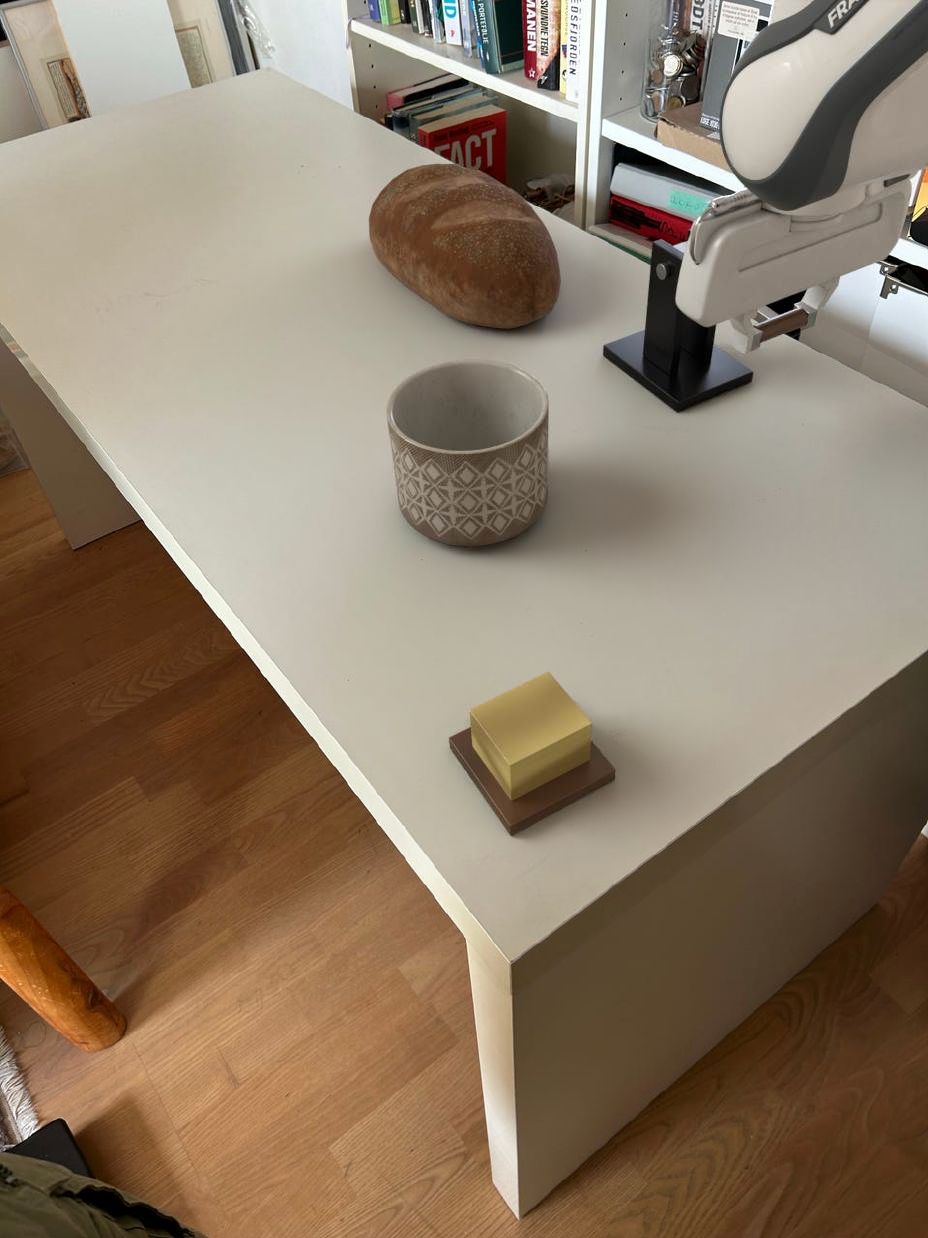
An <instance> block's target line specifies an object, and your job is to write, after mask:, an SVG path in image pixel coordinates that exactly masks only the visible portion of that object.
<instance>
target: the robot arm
mask: <svg viewBox="0 0 928 1238" xmlns="http://www.w3.org/2000/svg"><path fill="white" fill-rule="evenodd" d="M746 46H747V47H746V48H745V49H744V50H743V52H742V54H741V55H740V57H739V59H738V61H737V62H736V64H735V66H734V68H733V70H732V73H731V75H730V77H729V79H728V82H727V84H726V87H725V90H724V92H723V96H722V99H721V104H720V109H719V118H718V133H719V142H720V147H721V150H722V155H723V157H724V159H725V161H726V164H727V165H728V168H729V169H730V170H731V172H732V174H734V176H735V178H736V179H737V180H738V181H739V182H740V183H741V184H742V185H743V188H742V189H740V190H738V191H736V192H735V193H732V194H730V195H722V196H719V197H716V198H715V199H712V200H711V201H710V202H709V203H708V206H707V208H706V209H704V210H703V211H702V212H701V213H700V214H699V216H698V217H697V218H696V219H694V221H693V222H692V224H691V228H690V229H691V234H690V237H689V239H688V242H687V245H686V249H685V253H684V257H683V261H682V265H681V269H680V274H679V279H678V285H677V291H676V304H677V306H678V308H679V309H680V310H681V311H682V312H683V313H684V314H685V315H686V316H688V317H689V318H690V319H692V320H693V321H695V322H697V323H698V324H700V325H702V326H704V327H710V326H713V325H716V326H717V325H718V324H720V323H724V322H726V321H728V320H729V322H730V324H731V326H732V328H733V335H732V340H731V342H732V347H733V349H734V350H736V351H737V352H739V354H742V355H746V354H749V353H751V352H753V351H756V350H758V349H759V348H760V347H761V343H760V340H761V338H762V333H763V331H761V330H759V329H758V328H754V326H753V325H754V324H753V323H752V320H754V319H753V318H755V317H756V316H757V311H758V308H760V307H762V306H767V305H770V304H773V303H775V302H777V301H780V300H783V299H785V298H788V297H791V296H793V295H796V294H799V293H801V292H804V291H805V293H804V296H803V297H802V299H801V300H800V301H799V302H797V303H794V304H793V309H792V310H794V309H797V308H803V309H804V310H805V311H806V312H807V315H808V321H807V323H806V325H805V326H802V327H800V328H798V329H799V330H800V331H805V330H808V329H810V328H813V327H815V326H818V325H819V323H820V319H821V315H822V310H823V308H824V307H826V304H827V303H828V301H829V300H830V299H831V297H832V296H833V294H834V293H835V292H836V289H837V288H838V287H839V284H840V279H841V277H842V276H845V275H847V274H851V273H853V272H856V271H858V270H861V269H863V268H866V267H868V266H871V265H874V264H877V263H879V262H882V261H884V260H886V259H887V258H888V256H889V255H890V254H891V253H892V251H893V250H894V249H895V247H896V246H897V244H898V242H899V241H900V237H901V234H902V231H903V228H904V225H905V221H906V218H907V214H908V210H909V206H910V202H911V197H912V191H913V185H912V182H911V179H913V178H915V177H916V175H918V172H919V171H923V170H927V169H928V0H772V4H771V9H770V13H769V19H768V24H767V25H766V26H765V27H763V28H762V29H760V31H758V32H757V33H756V34H755V35H754V37H753V38H751V41H750V42H749V43H748V45H746Z"/></svg>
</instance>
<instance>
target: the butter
mask: <svg viewBox="0 0 928 1238" xmlns="http://www.w3.org/2000/svg"><path fill="white" fill-rule="evenodd" d="M469 721H470V722H469V723H470V727H467V728H465V729H464V730H463V729H462V730H461V731H459V732H457V733H455V734H453V735H451V736H449V737H448V744H449V749H450V751H451V752H452V754H453V755H454V756H455V758H456V759H457V761H458V763H460V765H461V766H462V768H463V769H464V771H465V773H466V774H467V776H469V778H470V779H471V781H472V782H473V784H474V786H476V788H477V790H478V791H479V792H480V794H481V796H482V797H483V798H484V800H485V801H486V803H487V804H488V806H489V807H490V808H491V810H492V811H493V813H494V814H495V816H496V818H498V820H499V822H500V823H501V824H502V826H503V827H504V828H505V830H506V832H507V833H508V834H509V836H510V837H512V836H515V835H516V834H518V833H519V832H521V831H523V830H525V829H527V828H529V827H531V826H532V825H534V824H536V823H538V822H540V821H542V820H545V818H548V817H549V816H551V815H553V814H554V813H556V812H558V811H561V810H562V809H564V808H566V807H568V806H569V805H571V804H573V803H575V802H577V801H579V800H581V799H582V798H585V797H586V796H588V795H590V794H592V793H594V792H595V791H598V790H599V789H602V788H603V787H605V786H606V785H608V784H610V783H612V782H614V781H615V780H616V773H617V769H616V768H615V767H614V765H613V764H612V763H611V762H610V761H609V760H608V758H607V757H606V756H605V755H604V753H603V752H602V751H601V750H600V749H599V748H598V746H597V745H596V744H595V742H593V740H592V734H593V733H592V731H593V723H592V721H591V720H590V719H589V718H588V717H587V715H586V713H584V712H583V710H582V709H581V708H580V707H579V706H578V705H577V703H576V702H575V701H574V700H573V698H571V696H570V695H569V693H568V692H567V691H566V690H565V689H564V688H563V687H562V686H561V684H560V683H559V682H558V681H557V679H556V678H555V676H553V675H552V673H551V672H550V671H546V672H544V673H541V674H540V675H537V676H536V677H534V678H532V679H530V680H528V681H526V682H524V683H522V684H520V685H517V686H516V687H514V688H512V689H511V688H510V689H509V690H508V691H505V692H503V693H501V694H499V695H497V696H495V697H493V698H491V699H489V700H487V701H484V702H483V703H480V704H479V705H477V706H474V707H472V708H471V709H469Z"/></svg>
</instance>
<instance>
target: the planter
mask: <svg viewBox="0 0 928 1238" xmlns="http://www.w3.org/2000/svg"><path fill="white" fill-rule="evenodd" d="M549 403H550V401H549V396H548V391H547V390H546V389H545V386H544V385H543V384H542V383H541V381H540V380H539V379H538V378H537V377H536V376H534V375H532V374H531V373H530V372H529V371H526V370H524V369H522V368H520V367H519V366H516V365H514V364H510V363H507V362H502V361H498V360H493V359H492V360H490V359H481V358H479V359H477V358H471V359H470V358H468V359H466V358H465V359H457V360H449V361H444V362H440V363H436V364H433V365H431V366H428V367H425V368H423V369H421V370H419V371H416V372H414V373H412V374H411V375H409V376H408V377H407V378H404V380H402V381H401V382H400V383H399V384H398V385H397V386H396V387H395V389H393V390H392V392H391V394H390V395H389V398H388V400H387V403H386V410H385V411H386V420H387V427H388V435H389V442H390V450H391V456H392V464H393V471H394V479H395V485H396V493H397V501H398V505H399V510H400V512H401V514H402V516H403V518H404V520H405V521H406V522H407V523H408V525H410V527H412V528H413V529H414V530H415V531H416V532H418V533H419V534H420V535H422V536H424V537H426V538H428V539H430V540H433V541H435V542H439V543H442V544H445V545H446V544H447V545H451V546H460V547H477V546H478V547H480V546H488V545H492V544H496V543H497V544H498V543H501V542H504V541H507V540H509V539H511V538H514V537H516V536H518V535H519V534H521V533H523V532H525V531H526V530H528V529H529V528H530V527H531V526H532V525H533V524H534V523H535V522H536V521H537V520H538V519H539V518H540V517H541V515H542V514H543V512H544V510H545V508H546V505H547V503H548V496H549V418H550V417H549V414H550V410H549V409H550V408H549V407H550V405H549Z"/></svg>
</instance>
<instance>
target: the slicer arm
mask: <svg viewBox="0 0 928 1238" xmlns="http://www.w3.org/2000/svg"><path fill="white" fill-rule="evenodd" d="M687 242H688V241H687V240H686V241H683V242H680V243H677V244H675V245H672V246H673V247H675V248H677V249H678V250H680V251H681V252H683V253H685V249H686V245H687ZM752 320H754V321H755V322H757V323H756V324H752V325H753V326H754V328H758V329H759V330H761V331H763V333H762V338H761V340H760V344H762V343H765V342H767V341H769V340H772V339H775V338H778V337H779V336H780V337H781V336H782V335H785V334H788V333H789V332H793V331H795V330H798V329H799V328H800V327H802V326H805V325H806V323H807V321H808V315H807V312H806V311H805V310H804V309H803V308H797V309H794V310H793V309H792V310H789V311H787V312H784V313H782V314H779V313H777V312H776V311H774V310H773V309H771V308H770V307H768V306H767V305H765V306H762V307H760V308H758V311H757V316H756V317H755V318H753V319H752Z"/></svg>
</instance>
